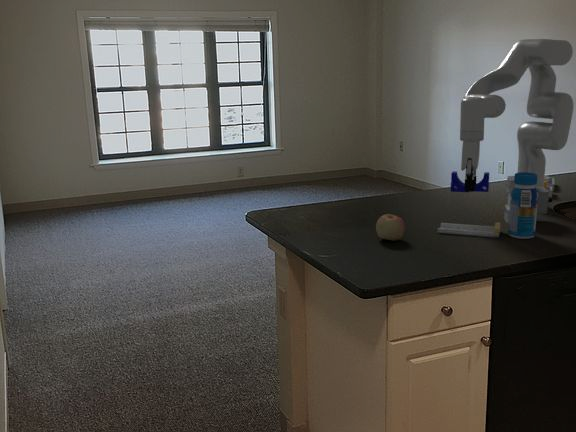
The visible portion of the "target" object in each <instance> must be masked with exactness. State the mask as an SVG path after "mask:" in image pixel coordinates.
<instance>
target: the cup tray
mask: <svg viewBox="0 0 576 432" xmlns="http://www.w3.org/2000/svg"><path fill="white" fill-rule="evenodd" d="M548 177H549V182H548V184H546V186H552V192H554V191H555V177H550V176H548Z"/></svg>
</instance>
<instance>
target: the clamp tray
mask: <svg viewBox="0 0 576 432" xmlns="http://www.w3.org/2000/svg"><path fill="white" fill-rule="evenodd" d="M546 190H547V191H548V192H549V193H548V197H551V199H553V191H552V186H546ZM506 195H507V197H508V195H509V193H508V192H507V194H506Z"/></svg>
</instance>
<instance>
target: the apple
mask: <svg viewBox="0 0 576 432" xmlns="http://www.w3.org/2000/svg"><path fill="white" fill-rule="evenodd" d="M375 230H376V234H377V236H378V237H379V238H380V239H383V240H387V241H388V240H389V241H394V242H395V241H397V242H398V241H399V240H400V239H402V238H403V236H404V234H405V230H406V225H405V222H404V220H403V219H402V218H401V217H400V216H398V215H396V214H390V213H387V214H386V213H385V214H383V215H381V216H379V218H378V219H377V222H376V224H375Z"/></svg>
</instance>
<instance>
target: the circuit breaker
mask: <svg viewBox="0 0 576 432" xmlns="http://www.w3.org/2000/svg"><path fill="white" fill-rule="evenodd" d="M514 176H515V175H507V179H506V185H505V186H506V187H505V188H506V191H507V194H508V193H509V195H508V196H507V197H508V198H507V204H505V205H504V216H503V218H504V220H505V222H506V224H509V216H510V200H511V199H512V198H511V192H512V190H513V189H514V187H515V186H516V185H515V184H514ZM534 187H535V186H534ZM535 188H536V190H537V192H538V198H537V201H538V208H537V214H540V215H541V214H546V215H547V213H548V206H549V205H548V203H553V198H551V197H548V193H549V192H548V191H547V190H546V189H545V187H535Z"/></svg>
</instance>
